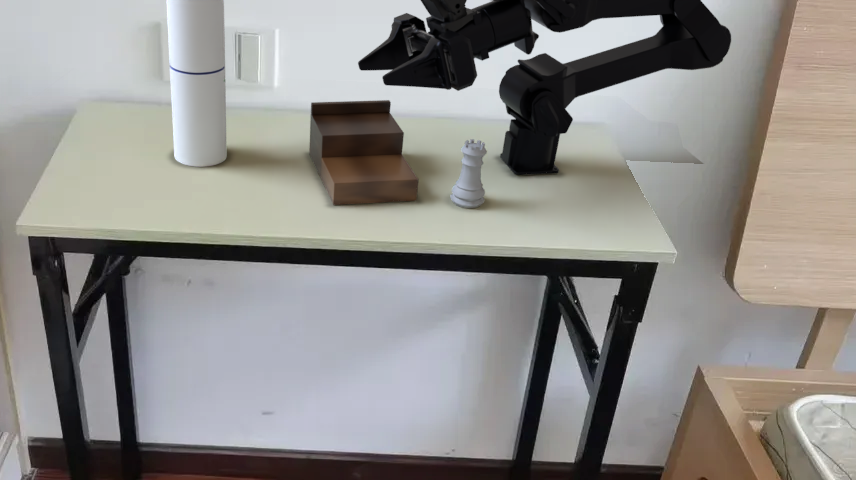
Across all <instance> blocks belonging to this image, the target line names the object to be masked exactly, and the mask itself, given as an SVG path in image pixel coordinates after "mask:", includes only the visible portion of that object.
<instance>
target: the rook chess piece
mask: <svg viewBox="0 0 856 480" xmlns="http://www.w3.org/2000/svg"><path fill="white" fill-rule="evenodd" d="M485 146H486V143H485V142H483V141H482V140H480V139H477V140H476V142H475V139H474V138H472V139H469V140H468V139H467V140H465V141H464V145H463V146H462V147H461V148H460V151H461V153H462V154H463V157H462V158H461V163H462V165H461V170H460V174H459V177H458V179H457V180H456V181H455V184H453V186H452V188H451V193H450V196H449V198H450V200H451V202H452V203H453V204H454V205H455V206H457V207H460V208H463V209H475V208H479V207H480V206H482V204H484V202H485V197H484V196H485V195H486V191H485V189H484V187H483V183H482V166H483V165H484V161H483V158H484V156H486V155H487V154H488V150H487V149H486V147H485Z"/></svg>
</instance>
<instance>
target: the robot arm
mask: <svg viewBox="0 0 856 480" xmlns="http://www.w3.org/2000/svg"><path fill="white" fill-rule="evenodd" d="M467 1H468V0H420V2H421V3H422V5H423V7H424V8H425V11H426V12H427V13H428V14H429V16H427V17H425V20H423V19H421V18H420V17H417V16H416V15H413V14H410V13H408V12H405V13H403V14H400V15H398V16H395V17H393V21H392V23H391V31H390V34H389V36H388V37H387V38H386V40H384V41H383V42H382V43H380V45H378V46H376V47H375V49H373V50H372V51H370V52H369V53H368V54H366V55H365V56H364V57H362V58H361V59H360V60H359V61H358V62H357V65H358V68H359V70H360V71H388V72H387V73H385V74H383V75H382V82H383V85H385V86H391V87H392V86H393V87H410V88H411V87H412V88H413V87H414V88H428V89H443V90H446V91H449V90H452V89H454V90H455V91H457V92H459V91H461V90H464V89H467V88H469V87H472V86H473V85H474V83H475V81H476V79H477V77H478V71H477V66H476V63H475V59H477V60H479V61H481V62H483V61H485V60H488V59H490V53H492V52H494V51H497V50H499V49H502V48H504V47H507V46H509V45H512V44H514V47H515V48H516V49H518V50H519V51H521V52H523V53H524V54H526V55H531V54H532V52H533V50H534V48H535V45H536V42H537V40H538V39H539V37H540V35H539V34H538V33H537V32H535V31H534V30H533V22H532V20H533V21H534V22H536V23H537V24H539V25H541V26H542V27H545V28H546V29H547V30H549V31H551V32H554V33H564V32H569V31H572V30H577V29H580V28H584V27H585V26H587V25H588V24H589V23H591V22H593V21H596V20H600V19H617V18H619V19H620V18H635V17H651V16H659V20H660V23H661V25H662V27H661V28H660V29H659V30H658V31H657V32H656V33H655V34H654V35H652V36H649V37H646V38H643V39H639V40H635V41H633V42H629V43H626V44H623V45H619V46H616V47H613V48H610V49H607V50H605V51H604V50H603V51H600V52H596V53H594V54H591V55H587V56H584V57H581V58H577V59H574V60H571V61H567V62H565V63H563V62H561V61H560V60H557V59H556V58H554V57H553V56H551V55H550V54H548V53H546V52H543V53H539V54H536V55H535V56H533V57H531V58H528V59H520V58H519V59H517V63H518V64H516V65H515V64H514V65H513V66H511V67H510V68H508V69H507V70H506V71H505V74H504V75H503V77H502V78H501V81H500V82H499V85H498V86H499V87H498V94H499V98H500V100H501V101H502V103H503V104H504V105H505V110H506V113H507V115H510V116H511V117H513V118H512V119H510V123H509V129H508V130H505V134H504V139H503V140H504V141H503V146H502V152H501V153H500V154H499V158H500V159H501V160H502V161H503V163H504V164H505V165H506V167H508V169H509V170H510V171H511V172H512V173H513V174H514V175H515V176H527V175H549V174H551V175H552V174H559V171H560V169H559V168H558V166H557V165H556V159H557V152H558V147H559V143H560V136H561V135H562V134H567V132H568V131H569V129H570V127H571V125H572V122H573V121H574V118H573V117H572V116H571V114H570V113H569V112H568V110H567V107H568V106H569V105H570V104H571V103H572V102H573V101H574V100H575V99H576V98H579V97H581V96H586V95H588V94H591V93H595V92H598V91H600V90H604V89H607V88H610V87H613V86H616V85H619V84H623V83H626V82H629V81H632V80H635V79H638V78H642V77H644V76H648V75H651V74H654V73H658V72H660V71H664V70H667V69H668V70H669V69H670V70H671V69H672V70H685V71H696V70H704V69H711V68H715V67H716V66H718V65H720V64H721V63H722V62H723V61H724V59H725V57H726V55H728V53H729V50H730V47H731V44H732V34H731V31H730V29H729V28H728V27H727V26H725V25H723V24H721V23H720V21H719V20H718V18H717V17H716V16H715V15H714V14H713V12H712V11H711V10H710V9H709V8H708V7H707V5H706V4H704V3H703V1H702V0H490V1H489V2H486V3H484V4H481V5H478V6H476V7H473V8H468V7H467V6H466V3H467ZM425 22H426V24H425ZM426 26H427V28H429V29H428V30H429V31H428V32H427V28H426Z"/></svg>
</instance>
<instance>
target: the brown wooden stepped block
mask: <svg viewBox="0 0 856 480" xmlns="http://www.w3.org/2000/svg"><path fill="white" fill-rule="evenodd" d="M391 103H392V102H391V100H389V99H383V100H382V99H381V100H380V99H379V100H355V101H354V100H352V101H351V100H349V101H319V102H318V101H317V102H310V121H309V147H308V148H309V151H308V155H309V157H310V159H311V162H312V163H313V165H314V168H315V169H316V172H317V174H318V176H319V178H320V180H321V182H322V184H323V186H324V188H325V190H326V192H327V195H328V198H329V199H330V201H331V204H332V205H333V206H339V205H342V206H343V205H359V204H360V205H361V204H376V203H393V202H394V203H395V202H399V203H400V202H416V201H417V197H418V188H419V177H418V176H417V175H416V173H415V172H414V170H413V169H412V167H411V166H410V164H409V163H408V161H407V160H406V158H405V156H404V155H403V146H404V135H405V132H404V131H403V130H402V128H401V126H400V125H399V123H398V122H397V121H396V119H395V118H394V117H393V114H391Z"/></svg>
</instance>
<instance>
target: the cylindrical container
mask: <svg viewBox="0 0 856 480" xmlns="http://www.w3.org/2000/svg"><path fill="white" fill-rule="evenodd" d="M165 1H166V2H165V4H166V21H167V22H166V23H167V41H168V59H169V60H168V63H169V79H170V81H169V82H170V98H171V99H170V100H171V116H172V117H171V120H172V138H173V155H174V159H175V160H176V161H177V162H178V163H180V164H182V165H185V166H189V167H197V168H199V167H201V168H202V167H212V166H217V165H219V164H221V163H223V162H224V161H225V160H226V159H227V157H228V156H227V155H228V153H227V152H228V151H227V150H228V149H227V147H228V146H227V102H226V101H227V97H226V95H227V93H226V91H227V89H226V87H227V86H226V50H225V49H226V44H225V43H226V42H225V41H226V40H225V39H226V37H225V0H165Z"/></svg>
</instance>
